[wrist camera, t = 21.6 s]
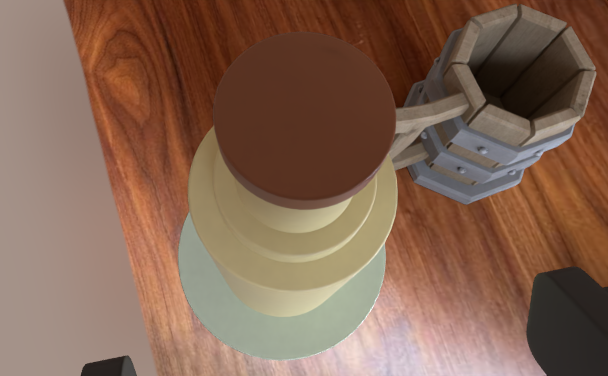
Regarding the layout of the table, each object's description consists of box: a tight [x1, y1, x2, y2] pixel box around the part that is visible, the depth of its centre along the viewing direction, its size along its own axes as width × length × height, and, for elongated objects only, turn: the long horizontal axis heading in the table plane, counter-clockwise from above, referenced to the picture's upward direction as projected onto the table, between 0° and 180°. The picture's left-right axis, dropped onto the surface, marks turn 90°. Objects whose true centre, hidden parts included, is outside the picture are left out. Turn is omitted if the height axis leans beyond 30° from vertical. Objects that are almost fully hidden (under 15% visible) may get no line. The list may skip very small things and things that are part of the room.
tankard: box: [389, 4, 596, 205], centre depth 44 cm, size 20×13×15 cm, turn 111°
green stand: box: [178, 211, 386, 361], centre depth 36 cm, size 10×10×22 cm
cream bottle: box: [188, 32, 398, 317], centre depth 18 cm, size 6×6×16 cm
